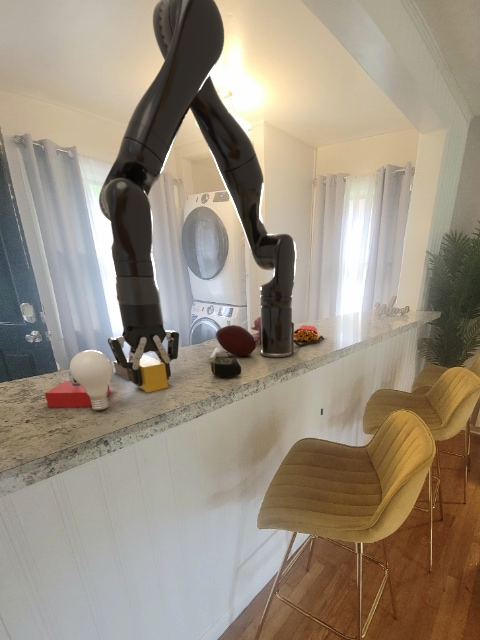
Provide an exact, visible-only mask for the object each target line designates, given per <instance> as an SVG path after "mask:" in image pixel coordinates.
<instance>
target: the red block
mask: <svg viewBox="0 0 480 640" xmlns="http://www.w3.org/2000/svg"><path fill="white" fill-rule="evenodd" d="M68 379H69V380H64V381H63V382H61V383H59V384H57V385H56V386H54V387H53V388H50V389H49V390H47V391H46V392H44V396H45V400H46V403H47V406H48V408H75V407H76V408H81V407H83V408H84V407H85V408H86V407H87V408H88V407H92V404H91V401H90V400H91V399H90V397H89V395H88V394H87V393H86V391H85V389H84V388H83V387H82V386H81V385H80V384H79V383H78V382H77V381H76V380H75V379H74V378H73V377H72V375H71V373H70V371H69V372H68ZM110 394H111V390H110V385H109V383H108V390H107V397H108V396H109V395H110Z"/></svg>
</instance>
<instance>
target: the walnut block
mask: <svg viewBox="0 0 480 640" xmlns="http://www.w3.org/2000/svg"><path fill="white" fill-rule="evenodd" d="M126 359H127V361H128V360H129V358H126ZM154 359H155V358H153V357H150V356H149V355H142V359H141V360H140V362H143V361H149V360H154ZM155 360H157V359H155ZM113 368H114V372H115V374H116V375H118V376H120V377H122V378H123V379H126V380H127V381H131V376H130V371H129V369H128V368H123V367H121V366H119V365H118V363H117V361H116V360H114V361H113Z"/></svg>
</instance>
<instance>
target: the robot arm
mask: <svg viewBox="0 0 480 640" xmlns="http://www.w3.org/2000/svg"><path fill="white" fill-rule="evenodd" d="M152 28H153V33H154V37H155V40H156V44H157V46H158V49H159V51H160V53H161V56H162V58H163V60H164V61H163V63H162V65H161V67H160V69H159V71H158V73H157V74H156V76H155V77H154V79H153V80H152V82H151V84H150V85H149V87H148V88H147V89H146V90H145V92H144V93H143V95H142V96H141V98H140V100H139V101H138V103H137V104H136V106H135V108H134V110H133V112H132V114H131V116H130V119H129V121H128V124H127V126H126V128H125V131H124V134H123V137H122V139H121V142H120V145H119V150H118V153H117V155H116V158H115V160H114V162H113V163H112V166H111V168H110V170H109V172H108V174H107V176H106V178H105V180H104V182H103V184H102V186H101V189H100V192H99V195H98V204H99V205H98V206H99V209H100V211H101V213H102V215H103V217H104V218H105V219H106V221H108V222H109V223H110V227H111V234H112V245H111V248H110V250H111V251H110V252H111V253H110V255H111V261H112V265H113V271H114V277H115V290H116V301H117V302H118V308H119V312H120V319H121V323H122V328H123V330H122V333H121V335H119V336H117V337H108V338H107V344H108V346H109V348H110V350H111V352H112V354H113V357H114V359H115V361H117V363H118V365H119V366H121V367H123V368H128V369H129V371H130V376H131V380H130V381H131V382H132V384H133V385H135V386H137V387H138V388H139V386H142V380H141V374H140V369H138V367H139V363H140V360H141V359H142V356H144V354H146V353H149V352H154V353H155V354H156V356H157V358H158V360H159V361H160V362H163V363H165V369H166V376H167V381H169V380H170V377H172V372H171V365H170V363H171V362H172V361H173V360H177V359H178V357H179V356H178V355H179V345H180V344H179V343H180V333H179V332H178V331H175V330H166V329H165V327H164V317H163V309H162V302H161V296H160V295H161V294H160V288H159V284H158V279H157V277H156V268H155V261H154V256H153V227H154V226H153V224H154V223H153V212H152V211H153V210H152V205H151V202H150V199H149V195H150V192H151V190H152V188H153V186H154V184H156V183H157V182H158V181H159V179H160V178H161V176H162V174H163V173H164V169H165V167H166V164H167V162H168V159H169V156H170V155H171V151H172V150H173V146H174V144H175V141H176V139H177V137H178V134H179V131H180V129H181V127H182V125H183V123H184V121H185V119H186V116H187V114H188V112H189V110H190V111H191V113H192V115H193V117H194V119H195V121H196V124H197V126H198V129H199V130H200V133H201V135H202V137H203V140H204V141H205V143H206V145H207V148H208V150H209V152H210V154H211V156H212V159H213V162H214V164H215V167H216V169H217V171H218V173H219V176H220V178H221V180H222V182H223V185H224V188H225V189H226V191H227V193H228V194H229V195H228V196H229V197H230V199H231V202H232V204H233V206H234V210H235V211H236V214H237V217H238V219H239V221H240V223H241V226H242V229H243V232H244V235H245V238H246V240H247V244H248V247H249V249H250V252H251V256H252V258H253V260H254V262H255V264H256V265H257V266H258V267H259V268H260V269H261V270H264V271H273V277H272V278H271V279H270V280H269V281H267V282H265V283H263V284H261V285H260V287H259V294H260V296H259V297H260V299H259V301H260V304H259V305H260V317H261V340H260V341H259V346H260V347H261V349H260V354H261V355H262V356H264V357H268V358H287V357H290V356H292V354H294V349H295V347H294V344H295V345H296V346H297V347H303V346H306V345H312V344H316V343H319V342H320V341H321V340H324V339H325V338H324V336H323V335H319V336H318V337H317V338H318V340H314V341H310V342H308V341H305V342H303V343H299V342H298V340H297V339H295V337H294V331H295V322H293V289H294V287H295V278H296V277H295V275H296V259H297V249H296V243H295V241H294V237H292V236H291V234H288V233H268V230H267V229H266V226H265V224H264V220H263V217H262V202H263V195H264V185H265V181H264V174H263V170H262V167H261V165H260V162H259V159H258V156H257V153H256V149H255V147H254V145H253V143H252V140H251V139H250V138H249V136H248V134H247V133H246V131H245V130H244V129H243V128H242V126H241V124H240V123H239V122H238V121H237V120H236V118H235V117H234V116H233V115H232V113H231V112H230V111H229V110H228V108H227V107H226V105H225V104H224V103H223V101H222V99H221V98H220V96H219V94H218V92H217V90H216V87H215V85H214V82H213V79H212V78H211V73H212V71H213V70H214V68H215V66H216V65H217V63H218V62H219V60H220V58H221V56H222V54H223V50H224V47H225V28H224V21H223V17H222V15H221V12H220V9H219V7H218V5H217V3H216V1H215V0H159V1H158V2H157V3H156V5H155V6H154V8H153V13H152ZM165 338H166V340H167V350H166V348H165V347H164V345H163V343H164V341H165ZM125 343H126V344H127V345H128V346H130V347H129V351H128V356H129V357H128V358H127V357H126V355H125V352H124V350H123V349H124V347H125ZM127 359H129V360H128V361H127ZM323 414H324V408H322V407H321V409H320V415H321V416H323Z"/></svg>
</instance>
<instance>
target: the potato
mask: <svg viewBox="0 0 480 640" xmlns="http://www.w3.org/2000/svg"><path fill="white" fill-rule="evenodd" d="M215 337H216V340H217V342H218V344H219V345H220V346H221V348H222V349H223V350H225V352H228V354H230V355H233V356H236V357H247V356H249V355H252V354H253V352H254V351H255V349H256V348H257V342H255V339H254V338H253V336H252V334H251V332H250V331H249V330H247V329H246V328H244V327H242V326H240V325H236V324H230V325H226V326H223V327H221V328H219V329H217V330H216V332H215Z"/></svg>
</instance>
